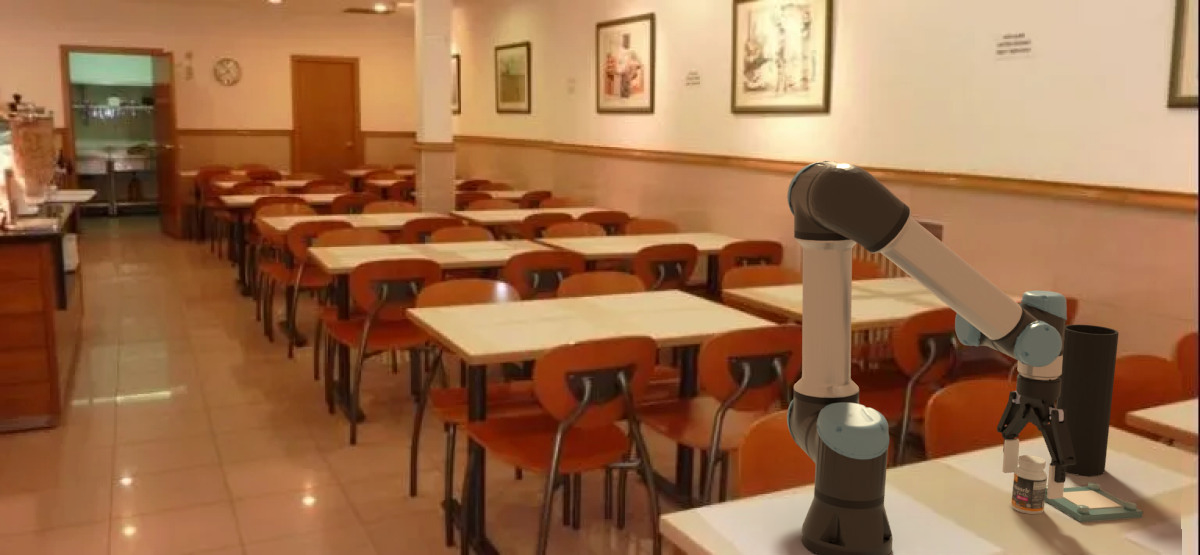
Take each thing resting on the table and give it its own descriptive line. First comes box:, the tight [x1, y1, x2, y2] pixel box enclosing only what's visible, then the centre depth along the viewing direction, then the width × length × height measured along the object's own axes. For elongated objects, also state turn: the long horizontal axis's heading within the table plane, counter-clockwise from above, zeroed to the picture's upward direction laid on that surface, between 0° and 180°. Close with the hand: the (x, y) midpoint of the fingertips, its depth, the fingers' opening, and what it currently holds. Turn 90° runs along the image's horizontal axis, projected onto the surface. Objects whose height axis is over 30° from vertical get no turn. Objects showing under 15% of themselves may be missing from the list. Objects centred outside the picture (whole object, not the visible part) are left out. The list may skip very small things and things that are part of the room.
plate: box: [1045, 482, 1144, 523], centre depth 187 cm, size 13×13×2 cm
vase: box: [1050, 324, 1119, 477], centre depth 207 cm, size 10×10×30 cm
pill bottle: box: [1010, 454, 1048, 515], centre depth 185 cm, size 6×6×10 cm
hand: (1031, 484), depth 185 cm, fingers open, 13 cm apart
